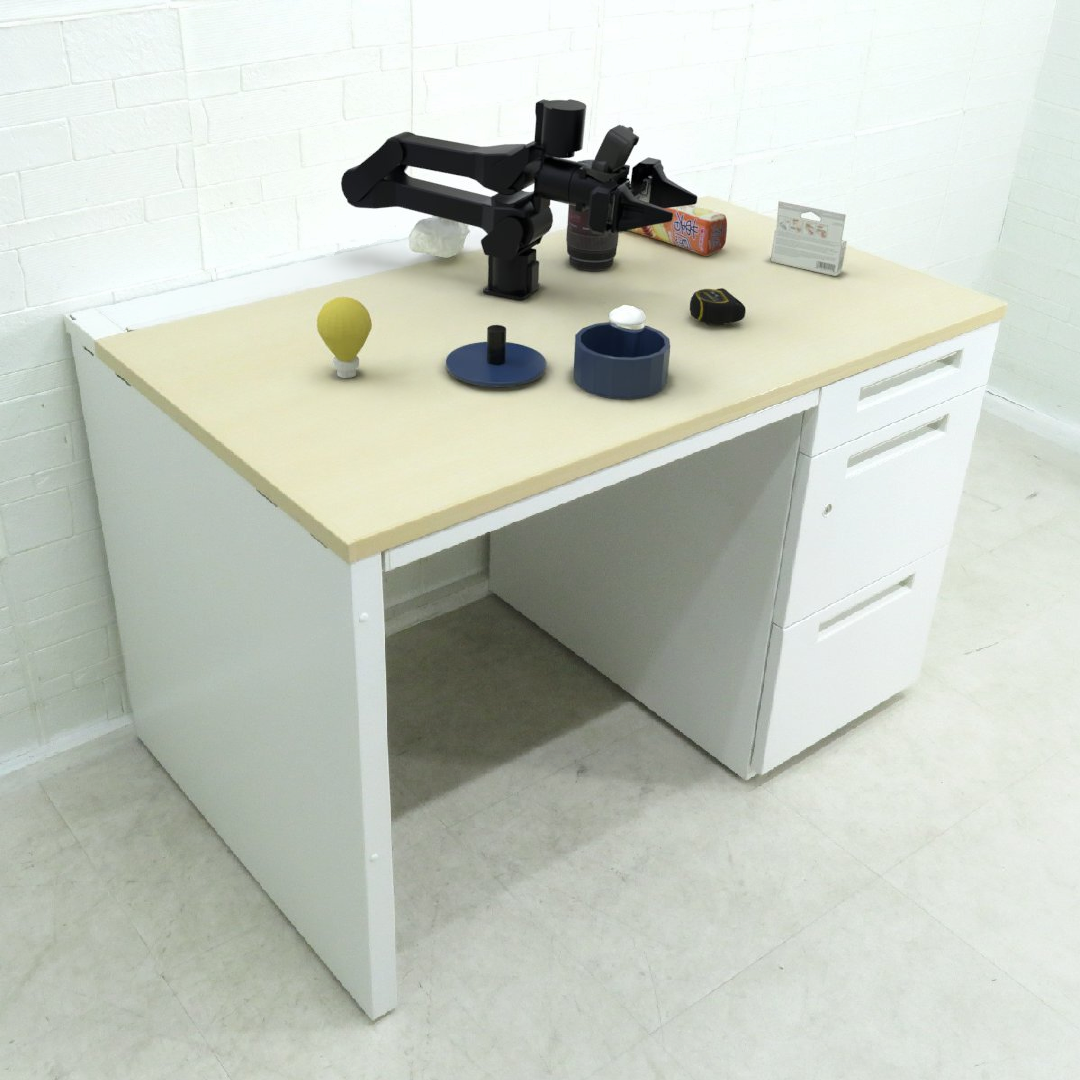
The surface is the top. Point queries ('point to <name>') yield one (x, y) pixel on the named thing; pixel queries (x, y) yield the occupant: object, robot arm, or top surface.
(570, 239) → the camera lens
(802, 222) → the ink cartridge box
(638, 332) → the milkshake
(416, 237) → the bust
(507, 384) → the tin lid
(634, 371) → the tin
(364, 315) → the light bulb
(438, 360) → the top surface
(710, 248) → the snack package
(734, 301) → the tape measure
